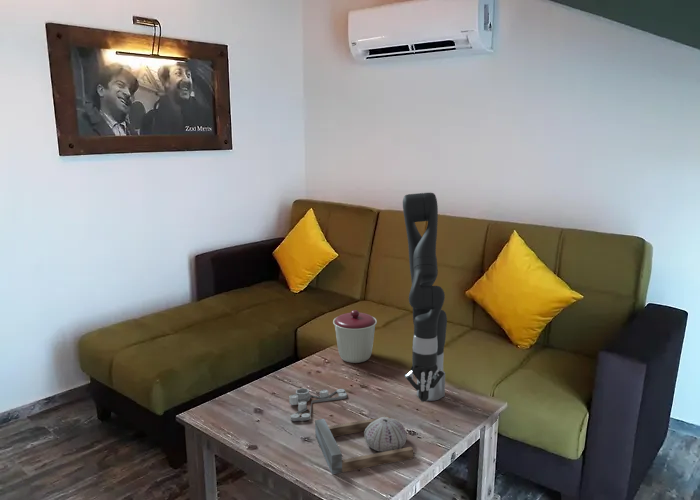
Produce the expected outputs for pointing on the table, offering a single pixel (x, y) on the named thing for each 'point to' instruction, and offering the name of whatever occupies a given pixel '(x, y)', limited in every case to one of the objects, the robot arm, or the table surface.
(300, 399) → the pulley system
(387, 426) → the sea urchin shell
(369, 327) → the canister
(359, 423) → the track
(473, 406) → the table surface
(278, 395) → the table surface
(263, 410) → the table surface
